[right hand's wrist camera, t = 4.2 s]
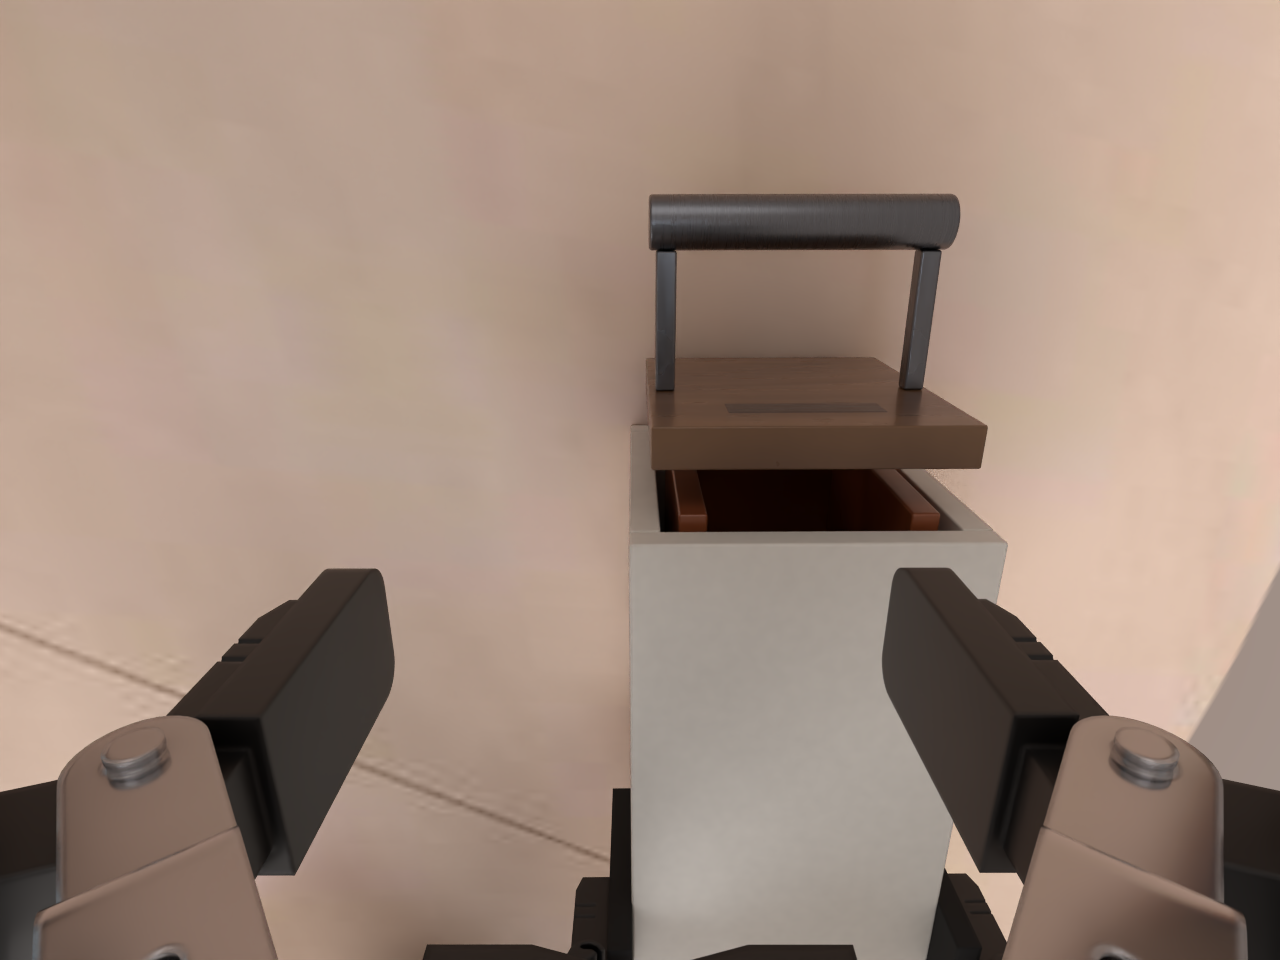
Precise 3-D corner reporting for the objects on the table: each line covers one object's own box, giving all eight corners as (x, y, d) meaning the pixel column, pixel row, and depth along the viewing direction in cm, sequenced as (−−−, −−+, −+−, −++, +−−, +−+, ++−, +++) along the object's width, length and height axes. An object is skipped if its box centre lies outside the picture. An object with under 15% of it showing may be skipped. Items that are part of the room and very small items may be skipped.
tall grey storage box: (630, 424, 29) (628, 544, 19) (874, 423, 29) (1010, 543, 19) (633, 790, 36) (632, 1031, 25) (831, 789, 36) (913, 1029, 25)
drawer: (646, 198, 25) (652, 190, 16) (893, 197, 25) (1030, 189, 16) (645, 737, 33) (649, 923, 25) (832, 736, 33) (902, 921, 25)
